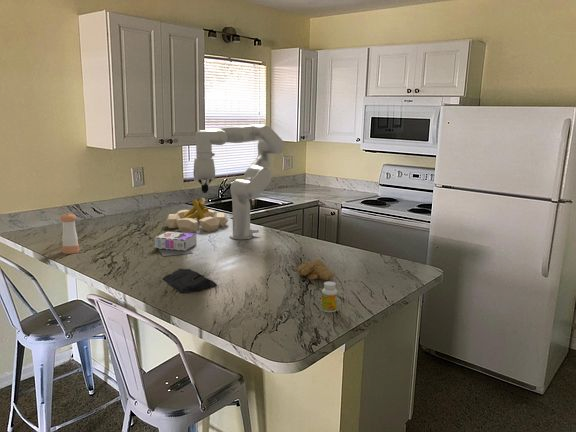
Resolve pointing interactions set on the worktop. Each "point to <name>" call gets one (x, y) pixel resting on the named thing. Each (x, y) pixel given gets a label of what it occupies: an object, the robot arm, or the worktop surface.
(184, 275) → the dark slate chunk
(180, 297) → the worktop surface
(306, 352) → the worktop surface
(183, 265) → the worktop surface
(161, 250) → the mat
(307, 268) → the ginger root
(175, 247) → the candy box
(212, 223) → the campfire
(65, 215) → the salt shaker
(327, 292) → the supplement bottle
